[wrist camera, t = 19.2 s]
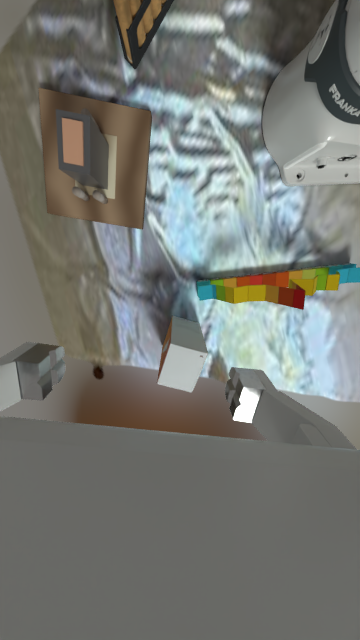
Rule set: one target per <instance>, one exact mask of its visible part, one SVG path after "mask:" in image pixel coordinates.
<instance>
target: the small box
mask: <svg viewBox="0 0 360 640" xmlns="http://www.w3.org/2000/svg"><path fill="white" fill-rule="evenodd" d="M207 355H208V351H207V348H206V344H205V341H204V338H203V334H202V331H201V327H200V324H199V323H197V322H194V321H190V320H187V319H183V318H180V317H176V316H172V318H171V322H170V325H169V328H168V332H167V335H166V338H165V341H164V344H163V347H162V354H161V361H160V368H159V374H158V380H157V384H160V385H164V386H168V387H172V388H176V389H180V390H184V391H188V392H192V391H193V389H194V387H195V384H196V382H197V380H198V377H199V376H200V373H201V371H202V368H203V365H204V362H205V360H206V357H207Z"/></svg>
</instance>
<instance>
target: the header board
mask: <svg viewBox="0 0 360 640" xmlns="http://www.w3.org/2000/svg"><path fill="white" fill-rule="evenodd" d="M39 101H40V115H41V129H42V143H43V157H44V171H45V185H46V199H47V213H50V214H54V215H60V216H66V217H72V218H78V219H84V220H90V221H95V222H101V223H107V224H113V225H119V226H125V227H131V228H137V229H143V223H144V211H145V198H146V186H147V173H148V161H149V148H150V136H151V123H152V115H151V111H148V110H143V109H138V108H133V107H128V106H124V105H119V104H114V103H109V102H105V101H100V100H95V99H90V98H86V97H81V96H76V95H71V94H66V93H62V92H57V91H52V90H47V89H43V88H39ZM56 109H59V110H63V111H68V112H73V113H78V114H83V115H88V116H90V117H91V118H92V120H93V121H94V123H95V124H96V126H97V127H98V129H99V131H100V132H101V134H102V135H103V137H104V138H105V140H106V141H107V143H108V144H109V160H108V190H106V189H101V188H95V187H89V186H84V185H82V184H80V183H79V182H77V181H76V180H74V179H73V178H71V177H70V176H68V175H67V174H65V173H64V172H63V171H61V170H60V169H59V165H58V145H57V125H56Z"/></svg>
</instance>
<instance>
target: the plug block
mask: <svg viewBox="0 0 360 640" xmlns="http://www.w3.org/2000/svg"><path fill="white" fill-rule="evenodd" d="M56 125H57V145H58V165H59V169H60V170H61V171H63V172H64V173H65V174H67V175H68V176H70V177H71V178H73V179H74V180H76V181H77V182H79V183H80V184H82V185H84V186H89V187H95V188H101V189H106V190H108V160H109V144H108V143H107V141H106V140H105V138H104V137H103V135H102V134H101V132H100V131H99V129H98V127H97V126H96V124H95V123H94V121H93V120H92V118H91V117H90V116H88V115H83V114H78V113H73V112H68V111H63V110H59V109H56Z"/></svg>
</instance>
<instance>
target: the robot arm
mask: <svg viewBox="0 0 360 640" xmlns="http://www.w3.org/2000/svg"><path fill="white" fill-rule="evenodd" d="M262 128H263V136H264V141H265V144H266V147H267V149H268V151H269V153H270V155H271V156H272V158H273V159H274V161H275V162H276V163H277V165H278V167H279V170H280V174H281V178H282V181H283V183H284V185H286V186H310V185H333V184H356V183H360V0H335V2H334V3H333V5H332V6H331V8H330V9H329V11H328V13H327V14H326V16H325V18H324V19H323V21H322V23H321V25H320V27H319V29H318V30H317V32H316V34H315V36H314V37H313V39H312V40H311V41H310V42H309V43H308V45H307V46H306V47H305V48H304V49H303V50H302V51H301V52H300V53H299V54H298V55H297V56H296V57H295V58H294V59H293V60H292V61H291V62H289V63H288V64H287V65H286V66H285V67H284V68H283V69H282V71H281V72H280V73H279V74H278V76H277V77H276V79H275V80H274V82H273V84H272V86H271V88H270V90H269V93H268V95H267V98H266V101H265V105H264V110H263V119H262ZM297 174H298V175H299V179H297ZM64 355H65V353H64V348H63V347H62V346H54V345H48V344H40V343H32V342H26V343H24V344H22V345H21V346H19V347H18V348H16V349H14V350H13V351H11V352H9V353H8V354H6V355H4V356H3V357H1V358H0V411H2V410H4V409H5V408H8V407H9V406H11V405H13V404H15V403H17V402H18V401H20V400H21V399H31V400H44V399H45V398H46V396H47V395H48V394H49V393H50V392H51V391H52V386H53V385H55V384H57V383H59V382H60V380H61V379H62V377H63V375H64V373H65V362H64V361H63V360H62V358H63V356H64ZM229 376H230V378H231V379H230V380H228V381H227V383H226V388H225V395H226V400H227V401H228V402H229V403H230V404H231V405H230V412H231V414H232V417H233V420H239V421H246V422H252V424H253V425H254V426H255V427H256V429H258V431H259V432H260V433H261V434H262V435H263V436H264V437H265V438H266V439H267V440H268V441H258V440H248V439H237V438H226V437H215V436H205V435H194V434H183V433H174V432H163V431H152V430H142V429H131V428H121V427H110V426H99V425H89V424H78V423H68V422H57V421H47V420H36V419H26V418H15V417H5V416H0V640H360V450H357V449H356V448H355V447H354V446H353V445H352V443H351V442H350V441H349V440H348V439H347V438H346V437H345V436H344V435H343V433H342V432H341V431H340V430H339V429H338V428H337V427H336V426H335V425H333V424H331V423H330V422H328V421H327V420H325V419H323V418H322V417H320V416H319V415H317V414H316V413H314V412H312V411H311V410H309V409H308V408H306V407H305V406H303V405H301V404H300V403H298V402H296V401H295V400H293V399H292V398H290V397H289V396H287V395H286V394H284V393H282V392H280V391H277V389H276V388H275V387H274V385H273V384H272V382H271V381H270V380H269V378H268V377H267V376H266V374H265V373H264V371H262V370H256V369H245V368H234V367H232V368H231V370H230V372H229Z"/></svg>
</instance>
